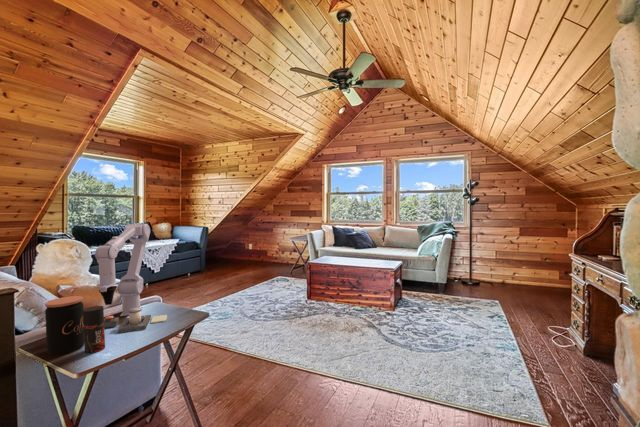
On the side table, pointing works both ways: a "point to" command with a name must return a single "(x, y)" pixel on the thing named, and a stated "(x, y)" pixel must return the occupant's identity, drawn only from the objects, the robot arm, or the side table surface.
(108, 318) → the plunger
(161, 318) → the tray
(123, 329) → the housing
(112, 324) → the console
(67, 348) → the coffee jar
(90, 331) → the deodorant
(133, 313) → the cartridge
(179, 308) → the side table surface
